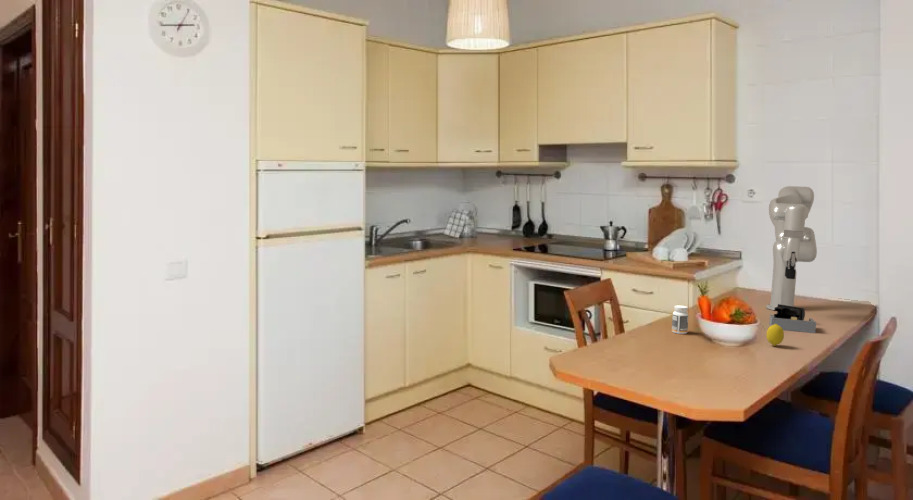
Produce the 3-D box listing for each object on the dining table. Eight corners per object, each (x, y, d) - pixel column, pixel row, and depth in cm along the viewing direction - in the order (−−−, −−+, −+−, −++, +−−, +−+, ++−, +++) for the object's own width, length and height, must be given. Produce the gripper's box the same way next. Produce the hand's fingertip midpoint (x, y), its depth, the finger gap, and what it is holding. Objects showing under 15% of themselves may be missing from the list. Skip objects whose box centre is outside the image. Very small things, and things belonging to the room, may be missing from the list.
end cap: (804, 323, 279) (805, 307, 278) (797, 325, 274) (798, 309, 274) (779, 319, 286) (780, 303, 286) (772, 321, 282) (773, 305, 281)
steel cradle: (769, 323, 276) (770, 311, 275) (811, 327, 271) (812, 314, 270) (771, 328, 267) (772, 315, 266) (815, 333, 262) (816, 319, 261)
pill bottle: (687, 331, 258) (689, 305, 257) (687, 335, 253) (689, 308, 251) (671, 330, 260) (673, 304, 259) (671, 333, 254) (673, 307, 253)
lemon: (762, 344, 242) (764, 321, 241) (777, 344, 243) (779, 322, 242) (770, 348, 237) (772, 325, 236) (786, 348, 237) (788, 325, 236)
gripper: (781, 232, 293) (778, 274, 296) (785, 235, 277) (781, 279, 280) (801, 233, 291) (797, 275, 293) (806, 237, 275) (802, 281, 277)
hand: (789, 277), depth 286 cm, fingers open, 5 cm apart
